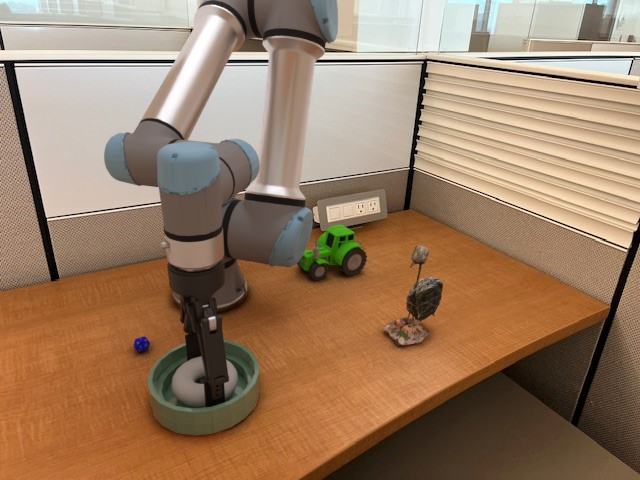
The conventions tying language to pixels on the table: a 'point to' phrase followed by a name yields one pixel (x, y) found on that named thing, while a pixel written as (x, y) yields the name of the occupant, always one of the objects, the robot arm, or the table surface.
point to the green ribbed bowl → (205, 418)
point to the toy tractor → (334, 253)
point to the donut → (194, 392)
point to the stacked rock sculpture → (417, 304)
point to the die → (141, 344)
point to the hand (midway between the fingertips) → (205, 387)
